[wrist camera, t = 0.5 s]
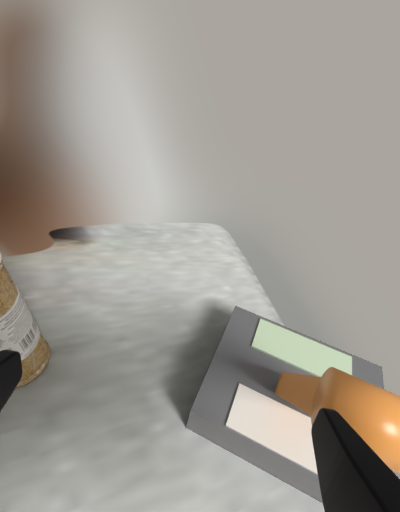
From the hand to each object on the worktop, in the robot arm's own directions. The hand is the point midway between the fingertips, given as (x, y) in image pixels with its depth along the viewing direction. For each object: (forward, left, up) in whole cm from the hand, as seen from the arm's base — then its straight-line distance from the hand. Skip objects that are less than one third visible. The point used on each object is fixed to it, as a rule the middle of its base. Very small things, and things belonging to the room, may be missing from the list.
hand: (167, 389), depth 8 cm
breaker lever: (+4, -10, -11) cm, 15 cm away
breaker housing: (+4, -10, -15) cm, 19 cm away
